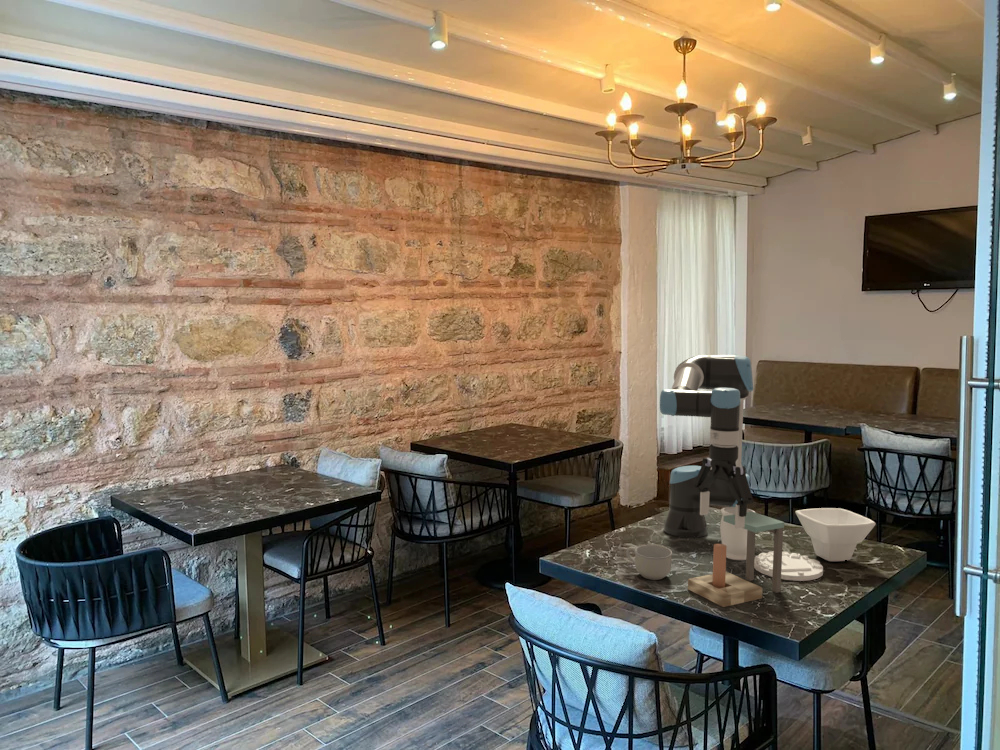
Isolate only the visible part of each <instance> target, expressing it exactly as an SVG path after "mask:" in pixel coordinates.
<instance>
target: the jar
mask: <svg viewBox="0 0 1000 750" xmlns="http://www.w3.org/2000/svg"><path fill="white" fill-rule="evenodd" d="M735 509H736V507H726V506H725V507H722V508H721V509H720V513H721V515H722V516H721V520H720V527H719V531H720V532H719V533H720V537H721V540H720V541H721V544H724V545H726V546H727V550H726V559H729V560H734V561H746V554H747V529H744V528H738V529H736V528H735V525H733V524H730V523H727V522H724V521H723V519H724V516H727V515H733V514H735ZM747 512H755V513H756V511H755V510H753V509H751V508H747Z"/></svg>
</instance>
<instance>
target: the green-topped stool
mask: <svg viewBox="0 0 1000 750" xmlns="http://www.w3.org/2000/svg"><path fill="white" fill-rule="evenodd" d="M746 513H747V514H746V516H745V527H744V529H747V554H746V560H745V580H746V581H749V582H751V581H754V580H755V579H754V578H755V568H754V559H755V557H756V555H755V554H756V552H755V551H756V533H761V532H768V533H771V534H773V551H774V553H773V577H771V578H772V580H771V581H772V582H771V583H772V584H771V591H772V592H774V593H776V594H777V593H780V592H782V590H781V589H782V587H781V586H782V579H781V569H782V552H783V542H784V528H785V522H784V521H782V520H779V519H776V518H774V517H773V518H772V517H769V516H767V515H764V514H761V513H758V512H756V511H755V512H746ZM723 521H724V522H727V523H730V524H733V525H735V514H733V515H727V516H724V519H723Z"/></svg>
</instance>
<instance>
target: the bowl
mask: <svg viewBox="0 0 1000 750" xmlns="http://www.w3.org/2000/svg"><path fill="white" fill-rule="evenodd" d="M795 515H796V516H797V518H798V520H799V523H800V524H801V526H802V528H803V530H804V531H805V533H806V534H807V535H808V536H809V537H810V540H811V543H812V547H813V551H814V554H815V555H816V556H818V557H820V558H822V559H824V560H825V561H828V562H845V560H847V561H849V560H851V559H852V557H853V554H854V552H855V551H856V548H857V545H858V544H859V543H862V542H863V541H864V540H865V539H866V537H867V536H868V535H869V534H870V532H871V531H872V530H873V529H874V528H875V526H876V522H875V521H874V520H872V519H870V518H868V517H866V516H864V515H861V514H859V513H856V512H853V511H851V510H848V509H844V508H841V507H838V508H836V507H821V508H820V507H819V508H806V509H799V510H795Z"/></svg>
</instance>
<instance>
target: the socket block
mask: <svg viewBox="0 0 1000 750" xmlns="http://www.w3.org/2000/svg"><path fill="white" fill-rule="evenodd" d="M712 582H713V573H710V574H706V575H702V576H696V577H695V576H694V577H690V578H687V590H689V591H691V592H692V593H694V594H696V595H698V596H701V597H702V598H705V599H707V600H708V601H710V602H713V603H714V604H716V605H717V606H721V607H723V608H725V607H729V606H734V605H739V604H743V603H747V602H752V601H756V600H760V599H763V587H761V586H759V585H758V584H755V583H752V582H751V581H749V580H746V579H743V578H742V577H740V576H737V575H735V574H733V573H730V572H728V571H726V578H725V587H724V588H720V589H718V588H716V587H714V586H712Z"/></svg>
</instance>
